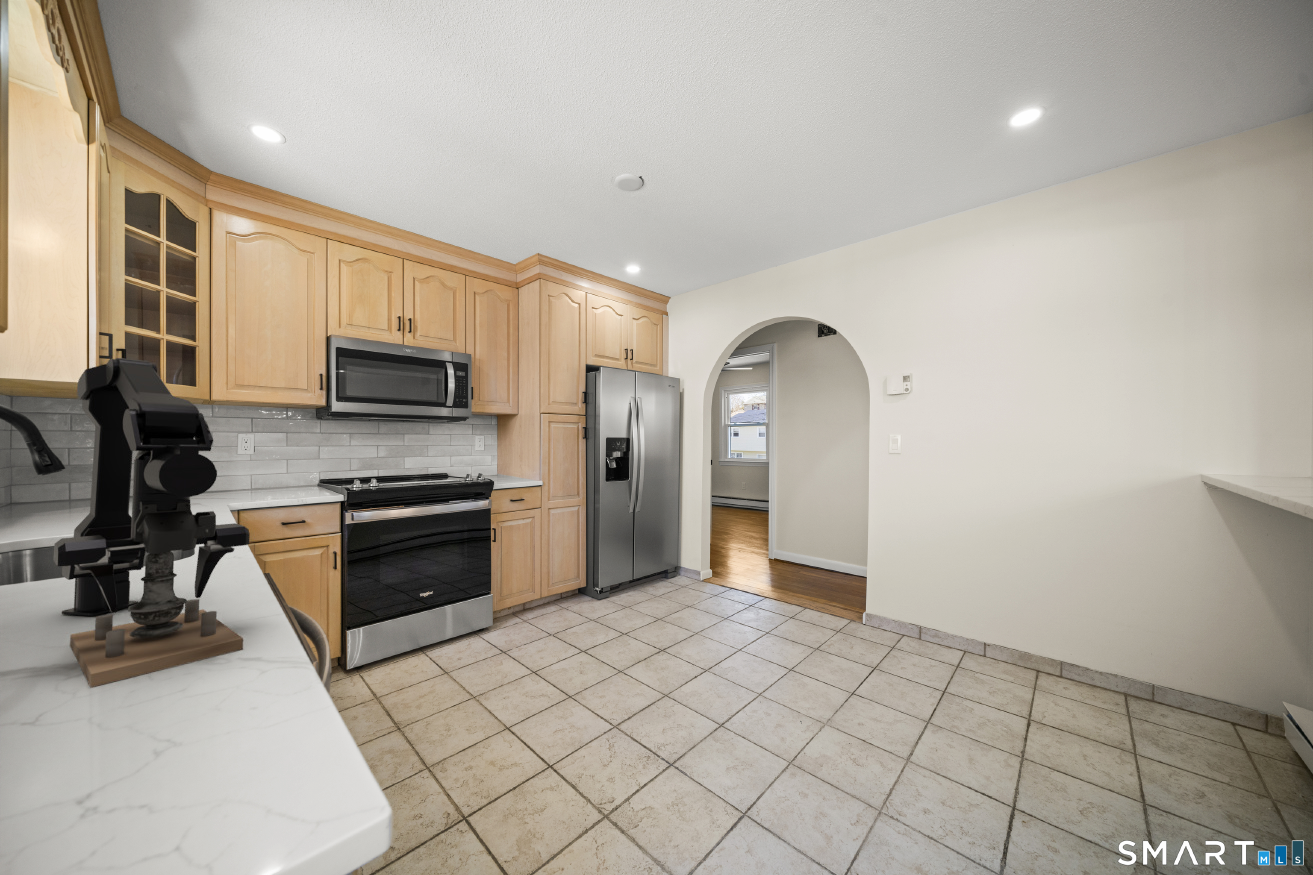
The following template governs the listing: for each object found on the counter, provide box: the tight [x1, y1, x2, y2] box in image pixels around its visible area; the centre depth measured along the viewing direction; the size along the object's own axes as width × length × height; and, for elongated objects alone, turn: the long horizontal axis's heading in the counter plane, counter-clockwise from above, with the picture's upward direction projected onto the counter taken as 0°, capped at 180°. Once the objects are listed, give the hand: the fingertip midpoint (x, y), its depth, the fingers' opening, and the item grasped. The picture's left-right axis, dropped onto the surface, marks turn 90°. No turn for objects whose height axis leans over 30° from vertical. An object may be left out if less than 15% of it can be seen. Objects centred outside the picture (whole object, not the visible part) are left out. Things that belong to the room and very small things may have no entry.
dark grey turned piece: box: [127, 551, 188, 637], centre depth 69 cm, size 6×6×12 cm
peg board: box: [69, 598, 244, 688], centre depth 69 cm, size 20×14×4 cm
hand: (157, 604), depth 69 cm, fingers open, 8 cm apart
